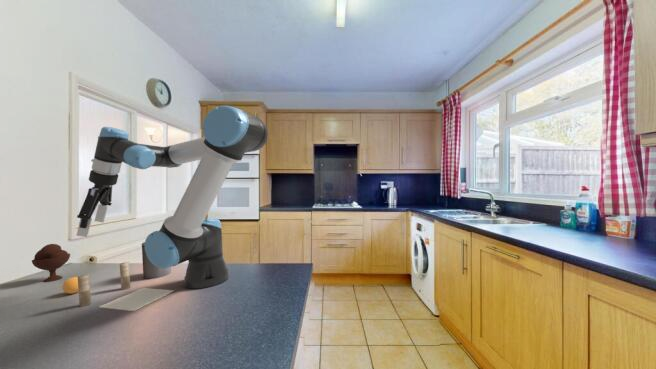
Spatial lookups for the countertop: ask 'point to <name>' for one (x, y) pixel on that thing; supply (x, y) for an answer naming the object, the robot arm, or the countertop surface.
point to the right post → (125, 275)
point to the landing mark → (136, 299)
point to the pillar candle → (152, 267)
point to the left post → (84, 290)
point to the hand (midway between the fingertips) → (91, 228)
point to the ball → (71, 285)
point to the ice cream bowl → (51, 260)
